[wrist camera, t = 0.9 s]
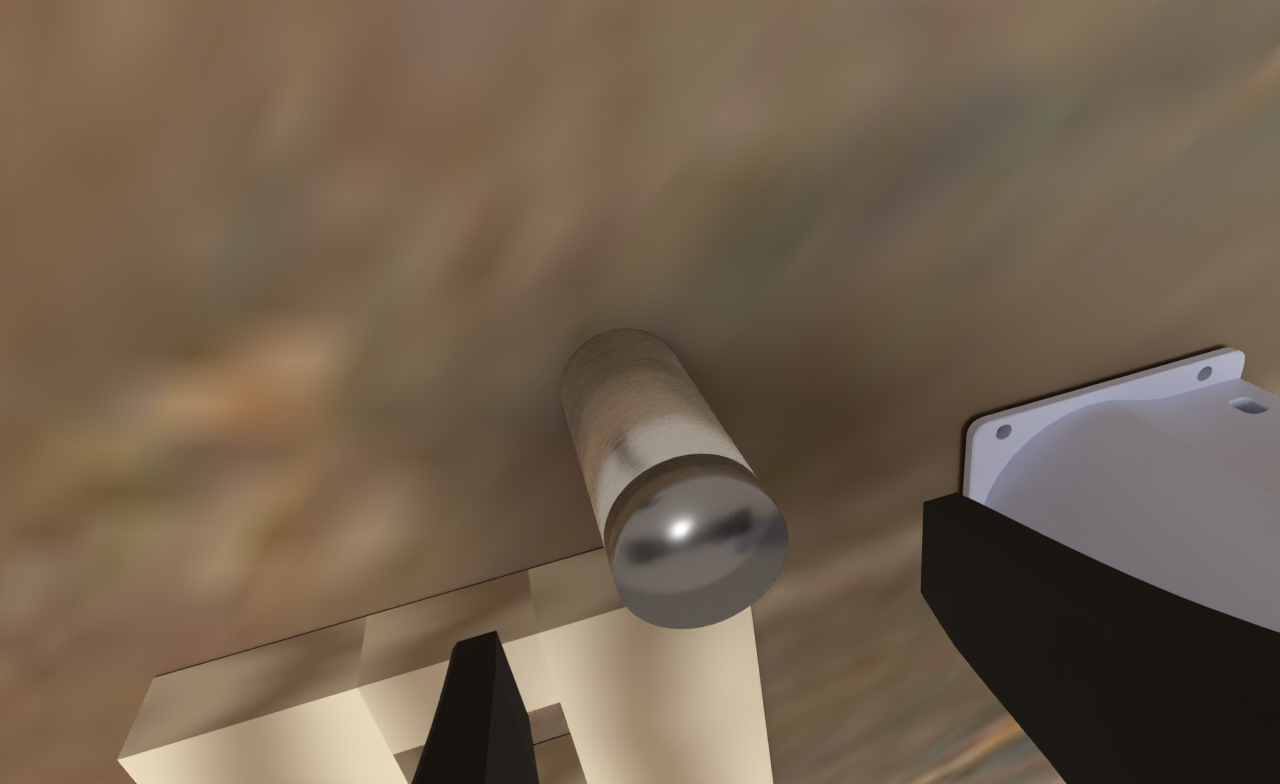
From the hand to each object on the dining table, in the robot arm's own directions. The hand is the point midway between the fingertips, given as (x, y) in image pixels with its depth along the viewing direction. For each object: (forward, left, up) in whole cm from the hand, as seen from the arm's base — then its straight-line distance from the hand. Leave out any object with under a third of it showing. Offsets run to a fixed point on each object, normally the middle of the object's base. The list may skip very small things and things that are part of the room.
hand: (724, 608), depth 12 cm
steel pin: (0, 0, -8) cm, 8 cm away
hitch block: (+6, +12, -8) cm, 16 cm away
